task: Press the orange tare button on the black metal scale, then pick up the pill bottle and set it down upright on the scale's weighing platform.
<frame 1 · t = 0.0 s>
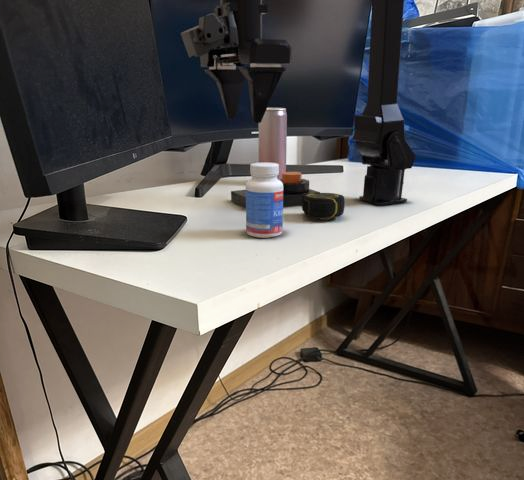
hand: (243, 121, 77), 15 cm above the table, tool pointing down, fingers open, 9 cm apart
tape measure: (320, 218, 85), on the table
beverage can: (272, 184, 113), on the table
scale: (275, 202, 95), on the table
tare button: (291, 178, 95), point 4 cm above the table, slide at 0.1 cm
pill bottle: (264, 235, 76), on the table
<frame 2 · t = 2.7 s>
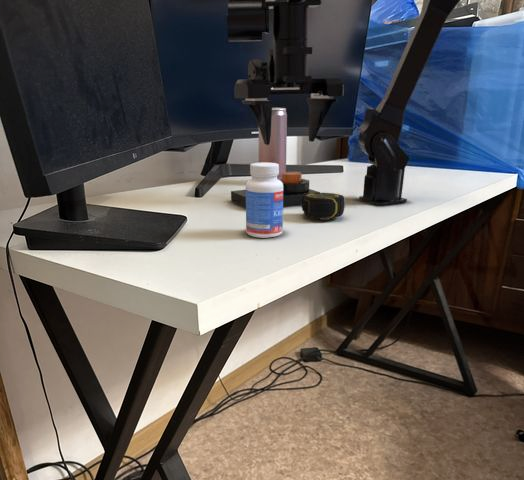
hand: (289, 143, 91), 10 cm above the table, tool pointing down, fingers open, 9 cm apart
nothing on the table moved.
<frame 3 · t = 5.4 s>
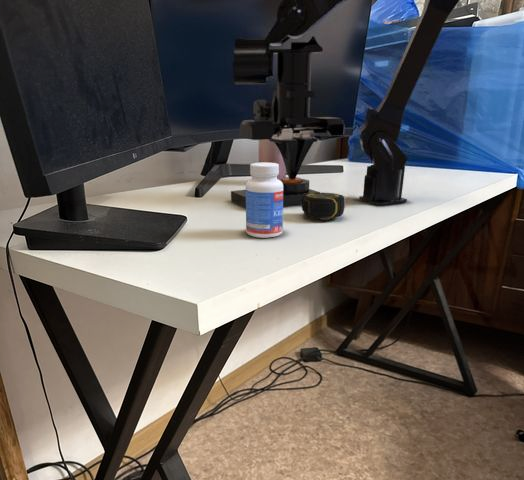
hand: (292, 178, 95), 4 cm above the table, tool pointing down, fingers closed, pressing on tare button
tare button: (291, 183, 95), point 3 cm above the table, slide at -0.8 cm, touching gripper
everything else where it was.
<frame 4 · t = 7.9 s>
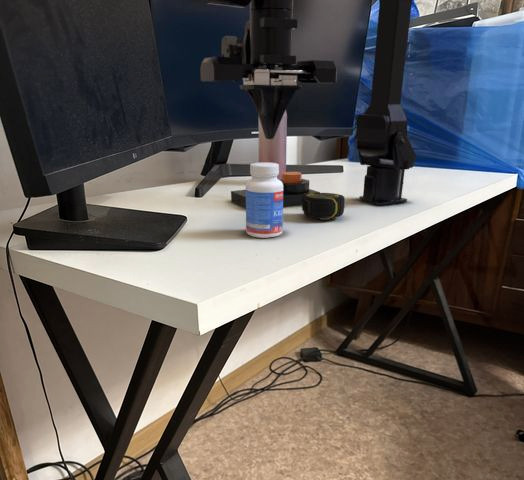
hand: (269, 138, 74), 13 cm above the table, tool pointing down, fingers closed
tare button: (291, 178, 95), point 4 cm above the table, slide at 0.1 cm
everything else where it was.
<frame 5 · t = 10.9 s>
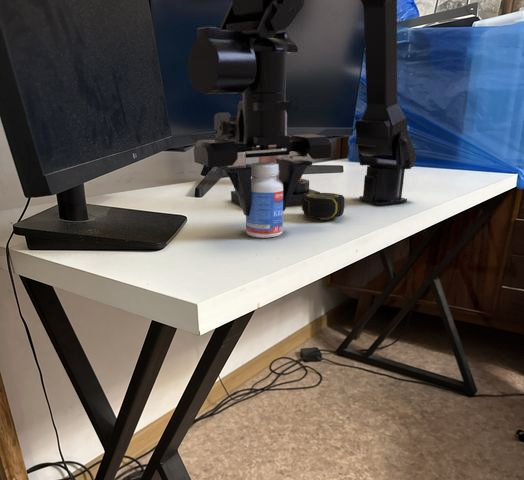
hand: (264, 213, 74), 3 cm above the table, tool pointing down, fingers closed on pill bottle, 5 cm apart
pill bottle: (264, 235, 76), on the table, touching gripper
everything else where it was.
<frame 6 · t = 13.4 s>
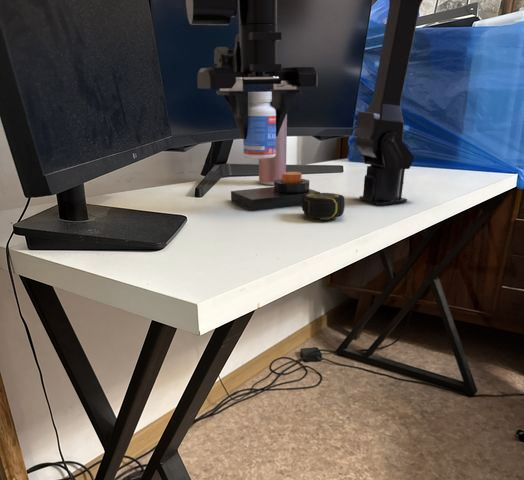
hand: (259, 137, 84), 12 cm above the table, tool pointing down, fingers closed on pill bottle, 5 cm apart
pill bottle: (259, 158, 85), point 9 cm above the table, touching gripper
everything else where it was.
when the fingers open (5 cm above the table, at t = 16.2 s): pill bottle stays where it is, resting on scale.
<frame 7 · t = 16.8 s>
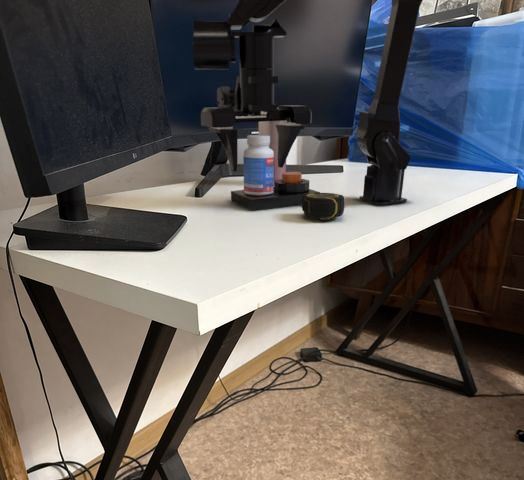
hand: (257, 169, 91), 6 cm above the table, tool pointing down, fingers open, 9 cm apart
pill bottle: (258, 194, 93), point 2 cm above the table, touching scale
everything else where it was.
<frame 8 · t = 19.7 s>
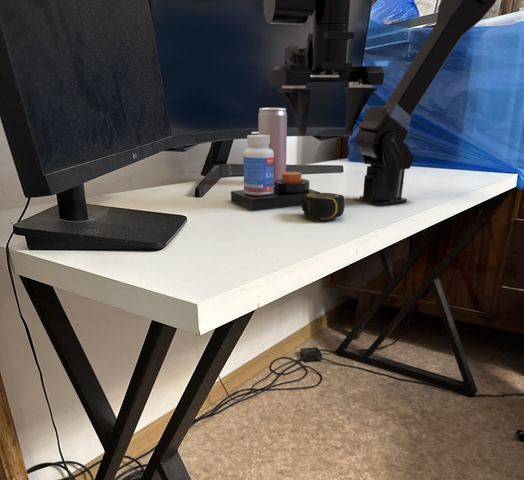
hand: (325, 134, 87), 12 cm above the table, tool pointing down, fingers open, 9 cm apart
nothing on the table moved.
at the end: tare button pushed in 0.9 cm at the most during the clip, back to where it started at the end; pill bottle inside the target area on the scale (0.1 cm from its centre), point 1.7 cm above the scale's base; pill bottle tilted 0° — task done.
